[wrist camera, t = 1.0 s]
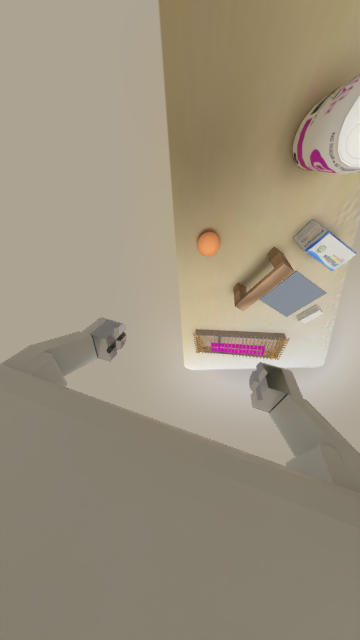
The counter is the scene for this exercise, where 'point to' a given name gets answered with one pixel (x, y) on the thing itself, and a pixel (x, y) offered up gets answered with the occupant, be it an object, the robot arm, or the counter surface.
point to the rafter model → (242, 352)
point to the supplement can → (331, 133)
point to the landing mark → (292, 294)
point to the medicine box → (323, 246)
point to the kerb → (309, 314)
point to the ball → (208, 244)
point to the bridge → (263, 281)
